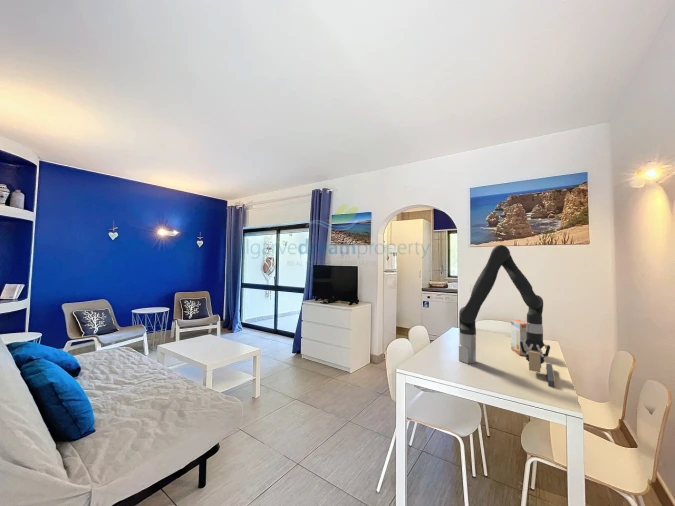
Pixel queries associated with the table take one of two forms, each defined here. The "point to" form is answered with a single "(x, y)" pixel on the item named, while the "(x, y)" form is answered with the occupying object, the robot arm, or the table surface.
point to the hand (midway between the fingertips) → (534, 362)
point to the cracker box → (518, 336)
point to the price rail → (550, 375)
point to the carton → (534, 360)
